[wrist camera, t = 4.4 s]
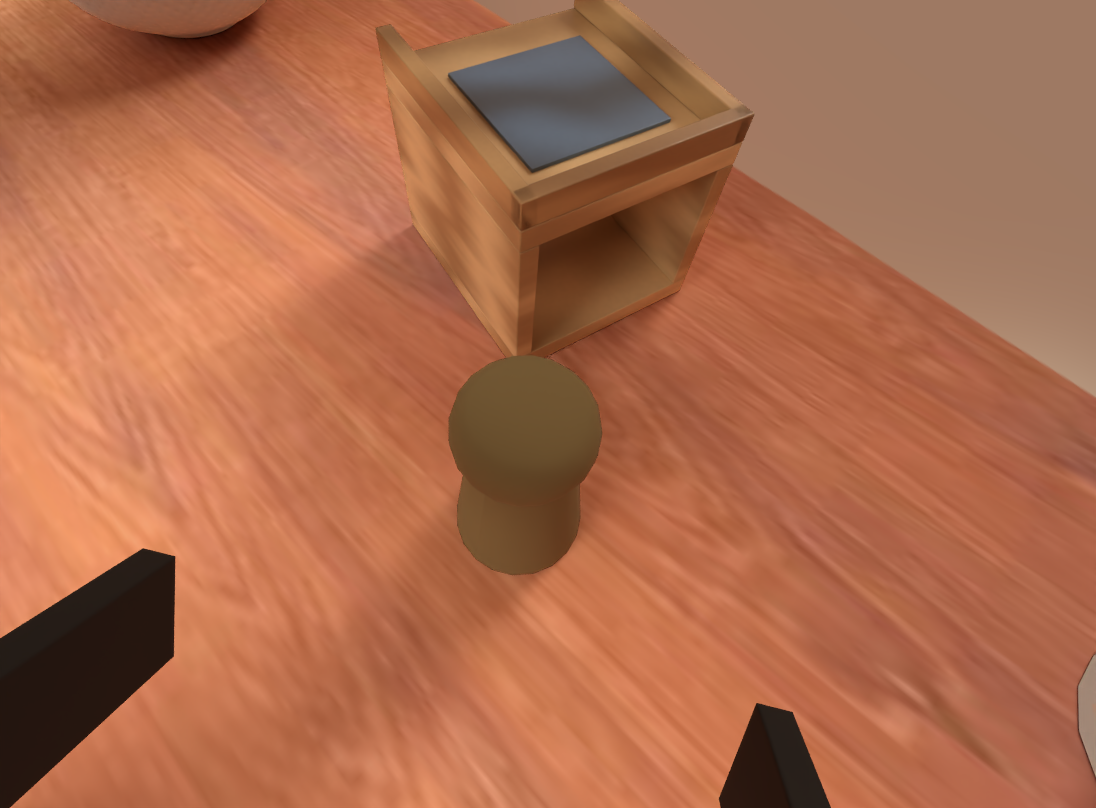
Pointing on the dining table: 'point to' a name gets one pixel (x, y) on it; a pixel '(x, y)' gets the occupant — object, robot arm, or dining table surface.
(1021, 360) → the dining table surface
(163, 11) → the cereal bowl
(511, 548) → the olive pawn piece
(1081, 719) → the french press
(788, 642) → the dining table surface
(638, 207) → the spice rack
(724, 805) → the robot arm
